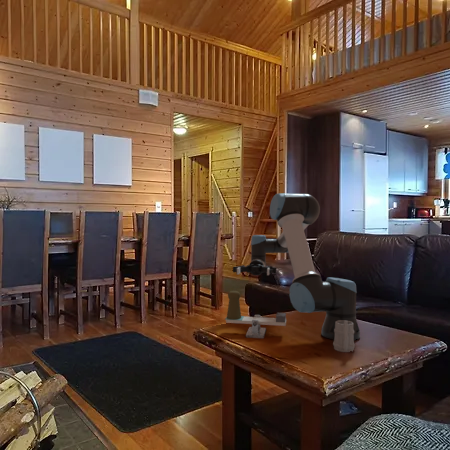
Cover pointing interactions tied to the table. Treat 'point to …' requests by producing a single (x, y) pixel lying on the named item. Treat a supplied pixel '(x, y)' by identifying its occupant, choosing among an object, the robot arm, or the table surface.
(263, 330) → the stand
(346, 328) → the mug
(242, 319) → the beam
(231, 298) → the cork
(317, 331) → the table surface
